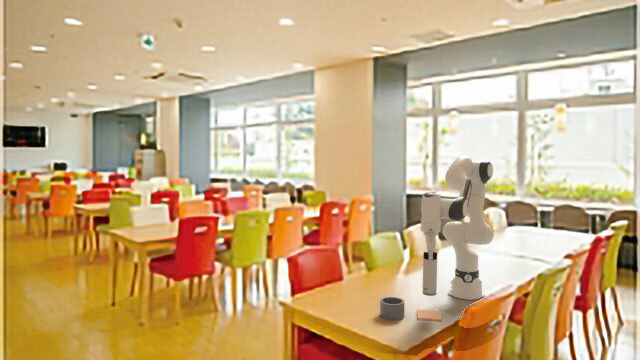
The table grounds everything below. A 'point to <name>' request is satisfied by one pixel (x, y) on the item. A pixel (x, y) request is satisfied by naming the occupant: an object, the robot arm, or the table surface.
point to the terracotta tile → (429, 315)
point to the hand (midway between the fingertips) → (430, 257)
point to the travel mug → (429, 274)
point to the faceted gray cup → (392, 308)
